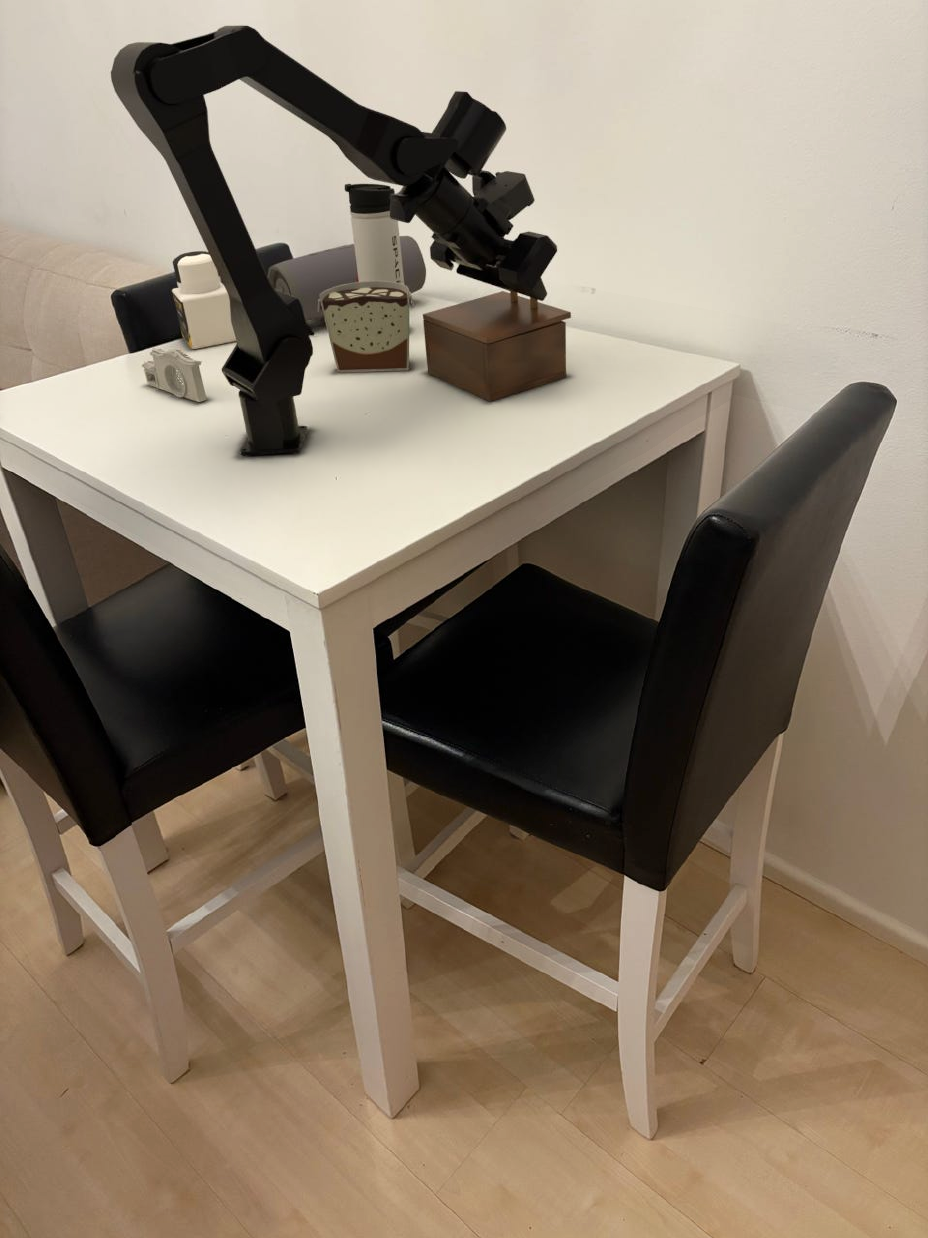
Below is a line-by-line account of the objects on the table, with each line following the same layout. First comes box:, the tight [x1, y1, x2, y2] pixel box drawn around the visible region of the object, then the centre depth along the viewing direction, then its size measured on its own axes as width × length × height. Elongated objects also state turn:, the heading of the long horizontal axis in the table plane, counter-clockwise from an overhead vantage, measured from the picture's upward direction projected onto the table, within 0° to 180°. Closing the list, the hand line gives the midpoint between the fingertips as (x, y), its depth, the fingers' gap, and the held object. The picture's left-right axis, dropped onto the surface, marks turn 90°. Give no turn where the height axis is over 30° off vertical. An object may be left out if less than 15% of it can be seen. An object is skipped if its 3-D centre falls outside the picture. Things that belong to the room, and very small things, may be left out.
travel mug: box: [344, 183, 404, 284], centre depth 133 cm, size 6×7×20 cm
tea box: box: [422, 320, 567, 402], centre depth 119 cm, size 12×14×7 cm
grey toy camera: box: [141, 347, 207, 403], centre depth 122 cm, size 12×2×6 cm, turn 48°
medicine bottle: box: [171, 250, 237, 350], centre depth 139 cm, size 7×7×12 cm
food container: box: [318, 281, 415, 373], centre depth 125 cm, size 12×6×10 cm, turn 84°
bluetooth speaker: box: [267, 235, 427, 324], centre depth 145 cm, size 23×9×10 cm, turn 126°
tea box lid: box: [422, 290, 572, 344], centre depth 116 cm, size 12×14×4 cm
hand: (531, 293), depth 119 cm, fingers closed on tea box lid, 5 cm apart
